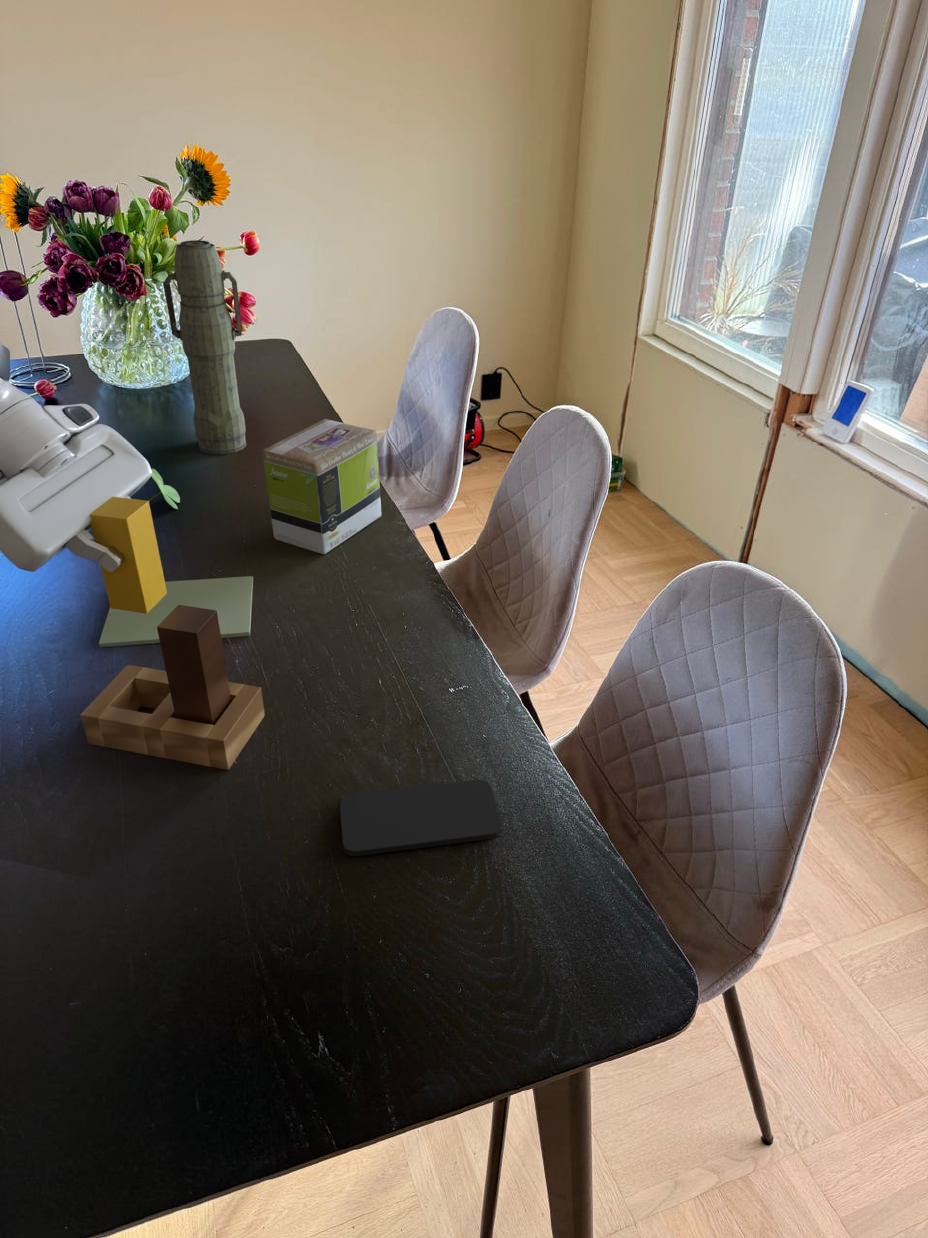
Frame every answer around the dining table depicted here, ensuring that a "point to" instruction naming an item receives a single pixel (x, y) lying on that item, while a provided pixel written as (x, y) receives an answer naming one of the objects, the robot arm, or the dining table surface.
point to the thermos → (208, 344)
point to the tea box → (323, 484)
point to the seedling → (165, 490)
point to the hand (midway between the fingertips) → (134, 552)
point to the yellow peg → (130, 554)
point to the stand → (169, 721)
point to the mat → (205, 593)
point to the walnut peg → (195, 664)
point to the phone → (418, 817)
